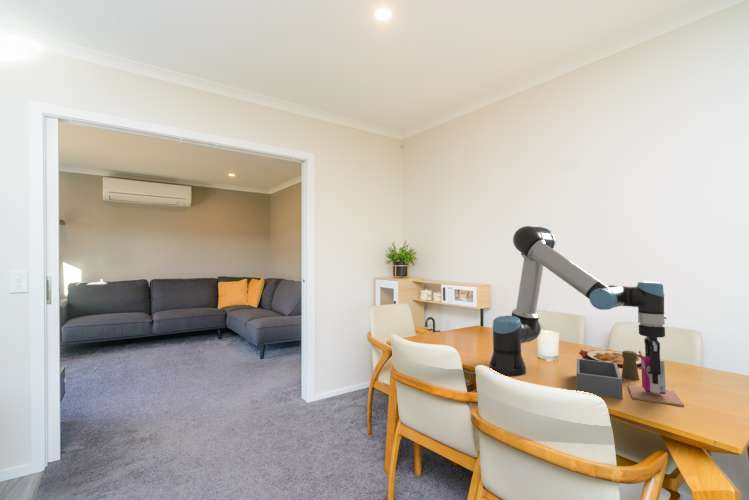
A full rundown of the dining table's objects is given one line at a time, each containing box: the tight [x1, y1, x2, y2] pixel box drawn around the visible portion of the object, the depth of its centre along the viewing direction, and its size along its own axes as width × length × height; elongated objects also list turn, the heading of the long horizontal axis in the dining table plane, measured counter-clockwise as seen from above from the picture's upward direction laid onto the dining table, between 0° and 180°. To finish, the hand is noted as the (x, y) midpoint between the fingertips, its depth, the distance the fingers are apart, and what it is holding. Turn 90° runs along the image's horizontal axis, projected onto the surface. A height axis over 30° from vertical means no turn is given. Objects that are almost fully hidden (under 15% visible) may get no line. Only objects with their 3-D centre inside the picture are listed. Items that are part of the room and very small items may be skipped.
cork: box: [621, 350, 640, 381], centre depth 147 cm, size 6×6×11 cm
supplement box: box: [640, 355, 667, 394], centre depth 128 cm, size 6×6×12 cm
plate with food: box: [580, 349, 643, 370], centre depth 171 cm, size 25×26×4 cm
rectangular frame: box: [575, 358, 623, 400], centre depth 139 cm, size 14×22×7 cm, turn 150°
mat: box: [627, 384, 685, 408], centre depth 128 cm, size 14×14×1 cm
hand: (653, 389), depth 128 cm, fingers closed on supplement box, 6 cm apart
